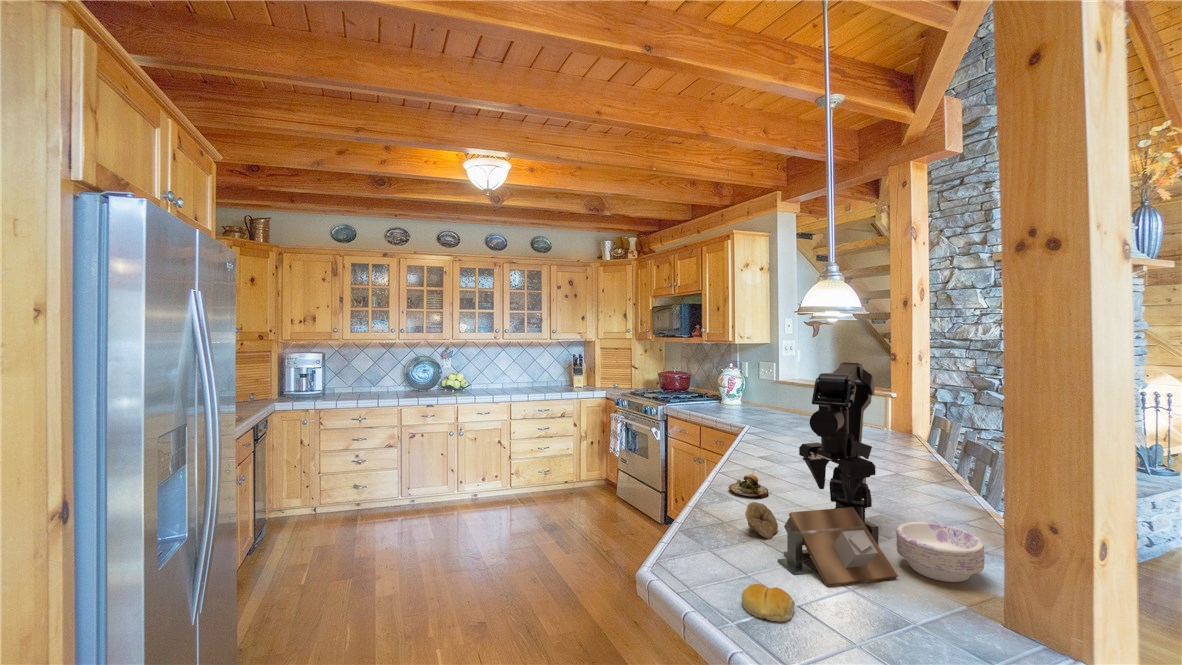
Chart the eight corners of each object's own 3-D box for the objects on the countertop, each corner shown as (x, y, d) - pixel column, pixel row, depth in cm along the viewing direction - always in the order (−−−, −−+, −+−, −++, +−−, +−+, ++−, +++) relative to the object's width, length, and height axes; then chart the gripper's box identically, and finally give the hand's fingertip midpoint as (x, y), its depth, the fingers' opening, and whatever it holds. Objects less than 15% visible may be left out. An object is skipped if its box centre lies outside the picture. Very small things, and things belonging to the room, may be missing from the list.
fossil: (742, 513, 123) (755, 494, 131) (732, 523, 126) (745, 503, 134) (772, 542, 121) (783, 520, 129) (760, 551, 123) (772, 529, 131)
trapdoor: (843, 520, 118) (853, 506, 115) (885, 588, 106) (898, 575, 102) (781, 526, 115) (790, 512, 112) (817, 597, 102) (828, 583, 99)
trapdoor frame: (861, 548, 117) (861, 514, 117) (889, 564, 109) (889, 528, 109) (771, 557, 113) (771, 522, 112) (793, 575, 104) (794, 537, 104)
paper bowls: (883, 568, 107) (883, 531, 107) (913, 550, 116) (913, 515, 116) (968, 599, 95) (969, 557, 95) (995, 575, 104) (995, 537, 104)
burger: (721, 489, 161) (721, 466, 161) (753, 486, 164) (753, 463, 164) (743, 502, 149) (743, 477, 149) (777, 498, 153) (777, 473, 153)
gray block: (832, 545, 106) (843, 530, 103) (853, 543, 107) (864, 528, 104) (845, 568, 102) (857, 553, 99) (866, 565, 103) (879, 551, 100)
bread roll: (747, 593, 98) (747, 572, 98) (797, 606, 93) (797, 585, 93) (735, 613, 91) (735, 591, 91) (788, 629, 86) (788, 606, 86)
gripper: (896, 434, 109) (897, 506, 109) (836, 418, 127) (837, 479, 127) (852, 438, 106) (852, 511, 107) (797, 421, 124) (798, 483, 125)
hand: (835, 495), depth 116 cm, fingers open, 9 cm apart
